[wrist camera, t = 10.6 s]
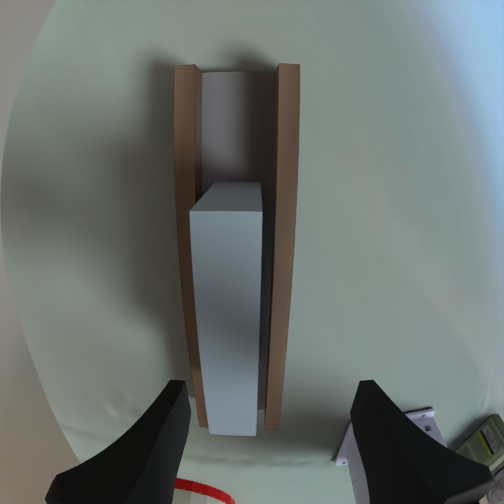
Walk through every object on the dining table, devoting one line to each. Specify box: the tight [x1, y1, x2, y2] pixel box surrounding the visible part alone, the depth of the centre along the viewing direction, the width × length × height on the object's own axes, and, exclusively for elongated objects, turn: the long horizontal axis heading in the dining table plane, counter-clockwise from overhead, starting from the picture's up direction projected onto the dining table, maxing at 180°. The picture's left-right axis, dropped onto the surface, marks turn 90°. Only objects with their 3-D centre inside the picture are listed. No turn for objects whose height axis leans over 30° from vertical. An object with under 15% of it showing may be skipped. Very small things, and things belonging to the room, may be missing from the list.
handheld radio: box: [455, 414, 504, 471], centre depth 28 cm, size 7×3×25 cm
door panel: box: [190, 182, 262, 436], centre depth 16 cm, size 2×12×7 cm, turn 179°
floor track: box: [174, 63, 300, 430], centre depth 19 cm, size 6×24×3 cm, turn 179°
